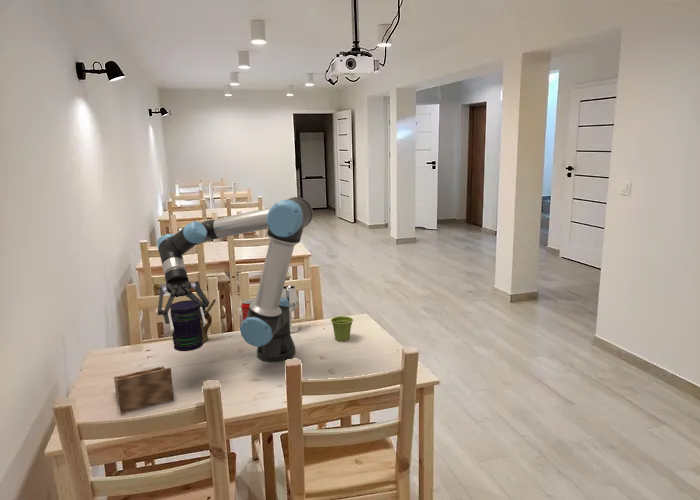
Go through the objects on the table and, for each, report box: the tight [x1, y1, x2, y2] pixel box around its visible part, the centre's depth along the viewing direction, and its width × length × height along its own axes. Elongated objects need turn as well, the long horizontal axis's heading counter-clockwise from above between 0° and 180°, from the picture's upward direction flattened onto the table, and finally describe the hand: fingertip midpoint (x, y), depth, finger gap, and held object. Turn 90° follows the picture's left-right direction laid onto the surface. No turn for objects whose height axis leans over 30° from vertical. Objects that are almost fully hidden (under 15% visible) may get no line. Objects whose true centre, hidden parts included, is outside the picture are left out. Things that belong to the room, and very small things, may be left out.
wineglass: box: [281, 285, 299, 334], centre depth 220 cm, size 8×8×20 cm
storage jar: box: [169, 299, 204, 352], centre depth 170 cm, size 10×10×15 cm
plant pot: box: [330, 315, 354, 342], centre depth 210 cm, size 9×9×9 cm
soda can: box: [240, 298, 256, 323], centre depth 218 cm, size 8×8×15 cm
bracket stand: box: [113, 366, 175, 414], centre depth 164 cm, size 16×16×11 cm
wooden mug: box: [200, 299, 216, 344], centre depth 210 cm, size 9×14×18 cm, turn 102°
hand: (188, 328), depth 168 cm, fingers closed on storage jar, 10 cm apart
